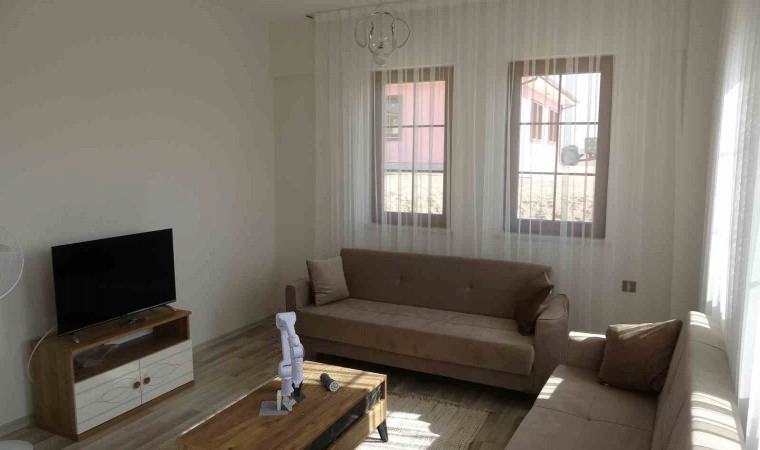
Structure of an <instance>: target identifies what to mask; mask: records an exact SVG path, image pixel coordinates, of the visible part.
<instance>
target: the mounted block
mask: <svg viewBox="0 0 760 450" xmlns="http://www.w3.org/2000/svg"><path fill="white" fill-rule="evenodd" d="M290 397H292V399H290V398H289V396H286V395H284V396H282V398H283V399H282V401H283V404H284V405H285V407H286V408H287V409H288V412H292V411H293V405H296V404H300V403H301V402H302V401H304V400H305V399H306V397H307V395H305V393H304V392H303V390H301V391H300V396H299V397H295V394H294V391H293V392H291V396H290Z"/></svg>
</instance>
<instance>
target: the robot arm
mask: <svg viewBox="0 0 760 450" xmlns="http://www.w3.org/2000/svg"><path fill="white" fill-rule="evenodd" d="M296 321H297V315H296V312H294V311H290V312H289V311H287V312H277V313H276V314H275V325H276V329H278V330H279V331H280V340H281V350H282V351H281V352H282V360H281V361H280V362H279V363H278V365H277V366H278V367H277V368H278V369H277V371H278V372H277V373H278V377H279V378H280V380H281V389H280V390H281V397H284V395H286V396H287V397H289V396H290V397H292V396H291V392H293V391H294V394H295V397H299V396H300V391H302V388H303V385H304V384H303V382H304V381H306V377H305V376H304V357H305V349H304V346H303V344H302V343H301V342H300V338H299V337H300V336H299V335H297V334H296V330H295V323H296Z"/></svg>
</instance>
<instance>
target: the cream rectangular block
mask: <svg viewBox="0 0 760 450" xmlns="http://www.w3.org/2000/svg"><path fill="white" fill-rule="evenodd" d="M276 401H277V410H281V405H282V404H281V401H282V396H281V389H278V390H277V392H276Z"/></svg>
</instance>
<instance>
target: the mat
mask: <svg viewBox="0 0 760 450" xmlns="http://www.w3.org/2000/svg"><path fill="white" fill-rule="evenodd" d="M281 404H282V405H281V410H277V400H265V401H264V400H263V401H261V405H260V408H259V414H258V416H259V417H267V416H268V417H269V416H287V415H288V414H289V410H288V409H287V408H286V407H285V405H284V404H283V400H281Z"/></svg>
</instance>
